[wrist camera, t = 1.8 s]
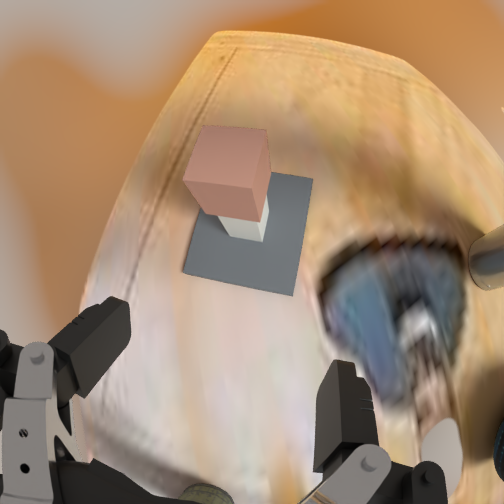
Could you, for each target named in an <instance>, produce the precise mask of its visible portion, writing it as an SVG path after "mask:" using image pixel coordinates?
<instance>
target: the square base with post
mask: <svg viewBox="0 0 504 504" xmlns="http://www.w3.org/2000/svg"><path fill="white" fill-rule="evenodd" d="M312 182H313V179H311V178H306V177H300V176H293V175H287V174H281V173H274V172H271V176H270V181H269V185H268V190H267V194H266V199H265V203H264V208H263V212H262V217H261V221H260V223H259V222H253V221H247V220H241V219H235V218H229V217H223V216H216V215H210V214H206V213H205V212H204V211H203V209H202V208H201V209H200V212H199V216H198V219H197V223H196V226H195V230H194V233H193V237H192V240H191V244H190V248H189V251H188V255H187V259H186V263H185V267H184V270H183V273H185V274H189V275H193V276H197V277H202V278H206V279H211V280H216V281H220V282H225V283H230V284H234V285H239V286H244V287H249V288H253V289H258V290H263V291H268V292H273V293H278V294H284V295H289V296H293V291H294V286H295V281H296V276H297V271H298V266H299V260H300V255H301V249H302V243H303V238H304V232H305V226H306V220H307V214H308V208H309V201H310V195H311V188H312Z"/></svg>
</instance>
